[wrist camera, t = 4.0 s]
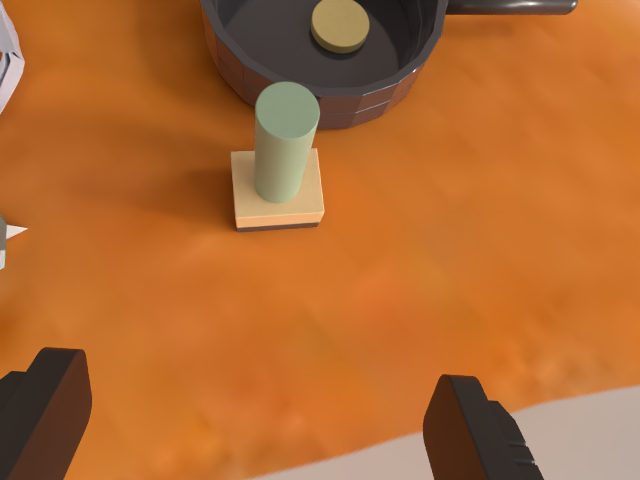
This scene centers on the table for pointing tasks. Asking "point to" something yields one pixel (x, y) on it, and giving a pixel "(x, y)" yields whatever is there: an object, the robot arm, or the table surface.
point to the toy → (3, 232)
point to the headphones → (9, 58)
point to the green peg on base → (279, 164)
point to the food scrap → (339, 25)
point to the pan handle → (510, 7)
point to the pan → (323, 53)
